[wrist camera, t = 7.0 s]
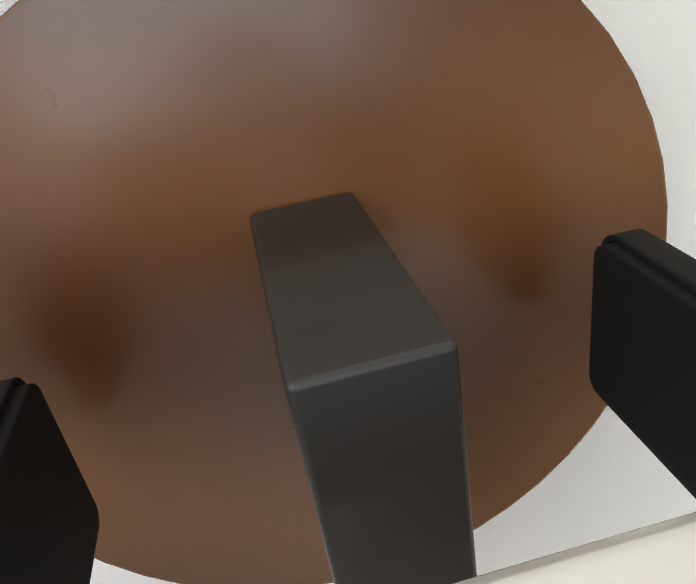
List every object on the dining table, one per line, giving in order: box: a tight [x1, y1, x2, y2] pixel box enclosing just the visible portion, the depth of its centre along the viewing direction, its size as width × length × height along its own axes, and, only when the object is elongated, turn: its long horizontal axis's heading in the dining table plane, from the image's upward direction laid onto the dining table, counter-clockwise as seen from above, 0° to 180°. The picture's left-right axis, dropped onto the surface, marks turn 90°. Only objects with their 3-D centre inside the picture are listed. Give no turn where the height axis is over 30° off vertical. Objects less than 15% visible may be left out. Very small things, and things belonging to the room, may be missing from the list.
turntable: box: [0, 0, 667, 584], centre depth 10 cm, size 14×14×6 cm
